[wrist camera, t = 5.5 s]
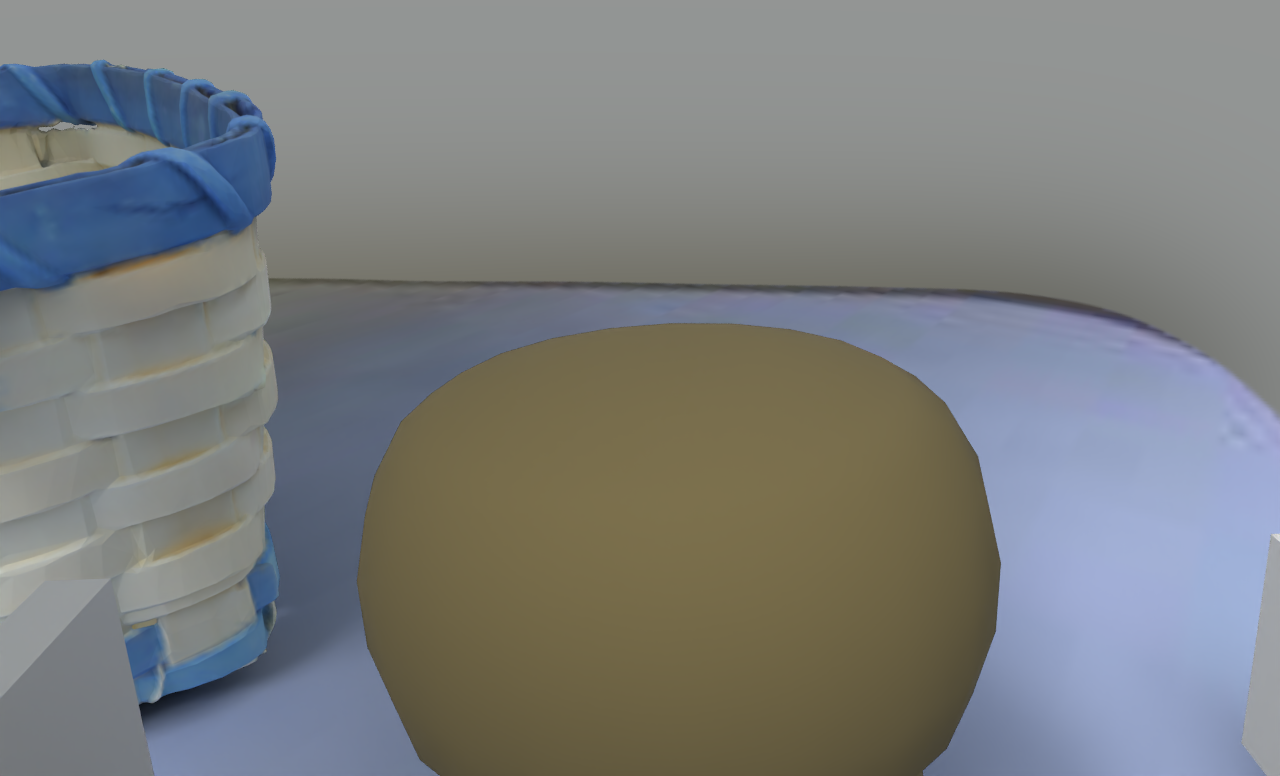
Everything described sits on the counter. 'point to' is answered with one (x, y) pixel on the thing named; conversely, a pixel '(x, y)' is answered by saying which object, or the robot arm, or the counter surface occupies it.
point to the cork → (680, 560)
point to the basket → (138, 360)
